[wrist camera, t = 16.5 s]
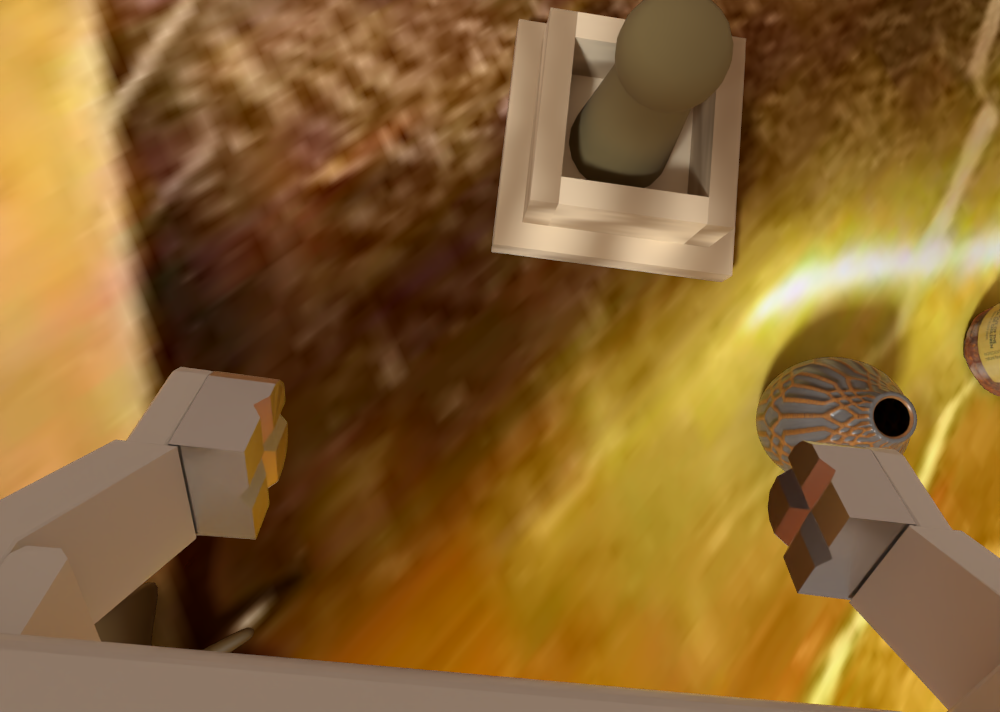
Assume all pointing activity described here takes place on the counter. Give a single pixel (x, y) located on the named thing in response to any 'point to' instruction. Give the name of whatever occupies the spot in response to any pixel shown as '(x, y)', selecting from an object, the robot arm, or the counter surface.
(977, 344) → the sauce bottle
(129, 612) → the kendama
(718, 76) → the cork
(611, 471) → the counter surface
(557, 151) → the shaker holder
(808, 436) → the vase
